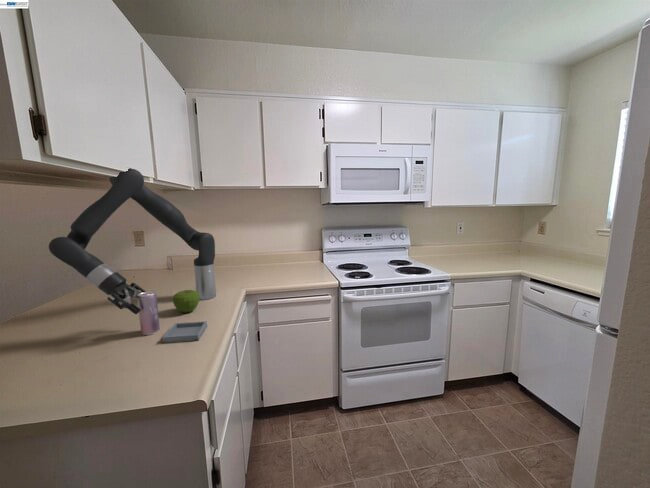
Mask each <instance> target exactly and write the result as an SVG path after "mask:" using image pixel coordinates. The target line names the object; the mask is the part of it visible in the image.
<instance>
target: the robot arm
mask: <svg viewBox="0 0 650 488" xmlns="http://www.w3.org/2000/svg"><path fill="white" fill-rule="evenodd" d="M128 168H129V169H128V171H126V172H120V173H119V175H118V176H117V177H109V176H108V179H109V183H110V184H111V185H112V186H111V187H110V188H109V189H108V191H107V192H106V193H105V194H103V195H102V196H101V197H100V198H99V199H97V200H96V201H94V202H93V203H92V204H91V205H89V206H88V207H86V209H84V210H83V211H82V212H81V213H80V215H79V216H78V217H77V218H76V219H75V220H74V221H73V222H72V223H71V225H70V232H68V234H67V235H66V236H58V237H54V238H52V239H51V240H50V242H49V244H48V250H49V252H50V253H51V254H52V255H53V256H54V257H55V258H57V259H58V260H59V261H61V262H63V263H65V264H66V265H68V266H69V267H72V268H73V269H74V270H76V272H78V273H79V274H80V275H81V276H83V277H84V278H86V280H88V281H89V282H90V283H91V284H92V285H94V286H95V287H96V288H97V289H99V290H100V291H102V292H103V293H104V294H106V295H107V296H108V297H107V300H108V301H109V302H111V303H112V304H113V305H114V306H115V307H117V308H118V309H119V310H123V309H125V310H126V309H127V310H129V311H130V312H131V313H133V314H134V315H137V314H139V312H140V311H141V309H140V308H138V305H136V304H135V303H132V301H131V299H137V297H138V294H140V293H143V292H147V291H146V290H145V289H143V288H142V287H140V286H139V285H138V284H136V283H135V282H131V283H130V284H127V281H128V280H127V279H126V278H125V277H124V276H123V275H122V274H120V273H119V272H118V271H116V270H115V269H114V268H113V267H111V266H109V265H108V264H106V263H105V262H103V261H102V260H101V259H99V258H98V257H97V256H95V255H93V254H92V253H89V252H88V251H87V250H86V248H87V246H88V244H89V243H90V241H91V240H92V238H93V236H94V235H95V234H96V233H97V232H99V230H100V229H101V227H102V226H103V225H104V224H105V223H106V221H108V219H109V218H110V217H111V216H112V215H113V214H114V213H115V212H116V211H117V210H118V209H119V208H120V207H121V206H122V205H123V204H125V202H127V201H128V200H129V199H131V200H133V201H134V202H136V203H137V204H138V205H140V206H141V207H142V208H143V209H144V210H145V211H146V212H147V213H149V214H150V216H152V217H153V218H155V219H156V221H158V222H160V223H161V224H162V225H163V226H165V227H166V228H167V229H169V230H170V231H172V232H173V233H174V234H176V235H177V236H178V237H180V238H181V239H182V240H183V241H184V242H185V243H186V244H187V245H188V246H189V248H191V249H192V250H195V251H198V256H197V257H196V258H193V259H194V260H193V267H194V268H193V269H194V271H193V272H194V283H195V291H197V292H198V293H199V295H200V299H199V301H200V300H203V301H205V300H206V301H207V300H211V299H214V298H215V297H217V292H216V291H217V289H216V275H215V258H216V242H215V237H214V236H213V235H212V234H211V233H209V232H200V231H197V230H196V229H194V227H192V226H191V225H189V223H188V222H187V220H186V217H185V215H184V214H183V212H181V210H180V209H179V208H177V207H176V206H175V205H174V204H173V203H172V202H170V201H169V200H168V199H167V198H166V199H165V198H164V197H163V196H161V195H159V194H158V193H155V192H154V191H152V190H151V189H150V188H149V187H147V186H146V185H145V179H144V176H143V174H142V172H140V171H139V170H138V169H135V168H131V167H128Z"/></svg>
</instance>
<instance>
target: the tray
mask: <svg viewBox="0 0 650 488" xmlns="http://www.w3.org/2000/svg"><path fill="white" fill-rule="evenodd" d="M207 328H208V321H206V320H203V321H189V322H175V323H174V324H173V325H172V326H171V327H170V329H168V331H167V332H166V333H165V334H164V335H163V336H162V338H161V339H162V343H163V344H171V342H173V343H182V342H183V343H184V342H196V341H200V339H201V337H202V336H203V334H204V332H205V331H206V329H207Z"/></svg>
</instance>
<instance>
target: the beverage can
mask: <svg viewBox="0 0 650 488" xmlns="http://www.w3.org/2000/svg"><path fill="white" fill-rule="evenodd" d="M137 296H138V297H137V298H136V300H137V307H138V308H140V309H141V311H140V312H139V313H138V314H139V315H138V316H139V317H138V318H139V326H140V333H141V334H142V335H143V336H151V335H150V334H152V335H155V334H156V332H157V333H158V332H159V331H160V318H159V308H158V300H157V299H158V298H157V297H158V296H157V293H156V291H151V290H150V291H146V292H143V293H140V294H138V295H137ZM154 333H155V334H154Z"/></svg>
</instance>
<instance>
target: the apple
mask: <svg viewBox="0 0 650 488" xmlns="http://www.w3.org/2000/svg"><path fill="white" fill-rule="evenodd" d="M199 299H200V295H199V293H198V292H197V291H196V290H194V289H185V290H181V291H177V292H176V293H175V294H174V295H173V298H172V303H173V306H174V307H175V308H176V310H177V311H178V312H181V313H191V312H193V311H195V309H197V307H198V305H199V302H200V300H199Z"/></svg>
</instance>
